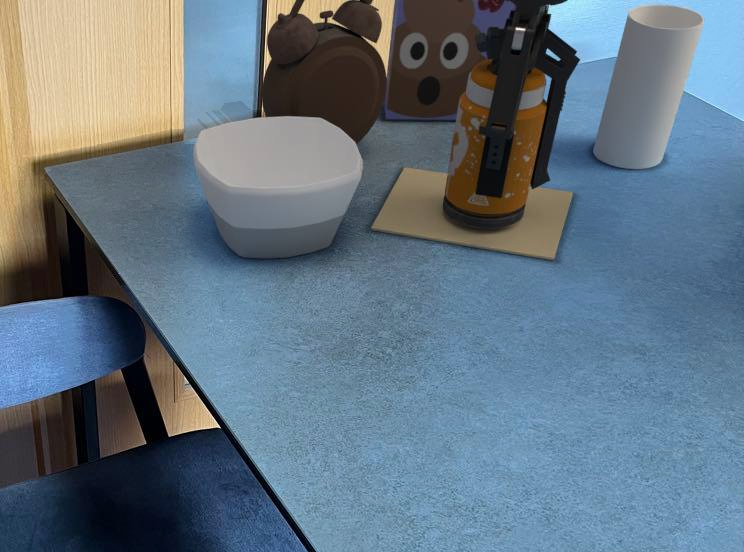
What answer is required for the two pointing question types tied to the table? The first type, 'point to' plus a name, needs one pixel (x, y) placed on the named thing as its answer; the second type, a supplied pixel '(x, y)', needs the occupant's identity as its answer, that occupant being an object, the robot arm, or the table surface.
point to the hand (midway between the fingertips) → (499, 167)
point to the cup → (647, 85)
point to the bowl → (277, 183)
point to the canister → (529, 133)
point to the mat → (428, 221)
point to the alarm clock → (327, 68)
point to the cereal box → (435, 54)
